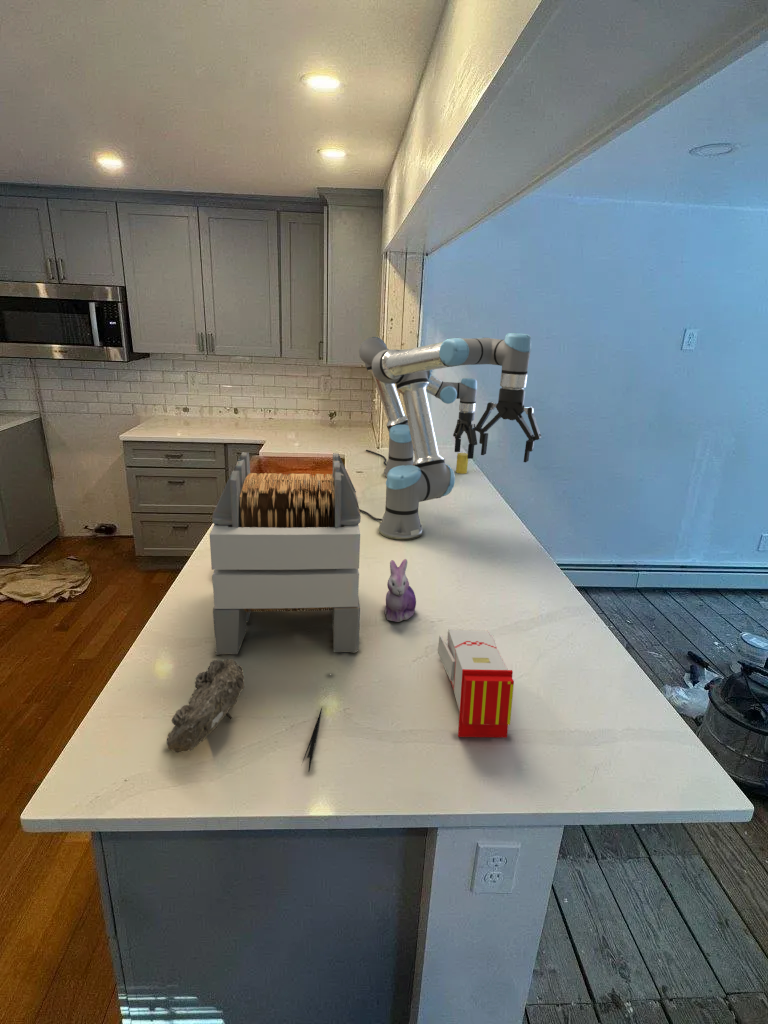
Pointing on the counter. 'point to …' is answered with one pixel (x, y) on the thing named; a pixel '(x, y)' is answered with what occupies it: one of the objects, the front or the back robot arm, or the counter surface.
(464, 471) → the yellow cylinder
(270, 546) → the transformer
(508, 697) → the toy
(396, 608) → the figurine
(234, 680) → the fossil
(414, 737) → the counter surface
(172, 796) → the counter surface
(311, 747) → the feather
